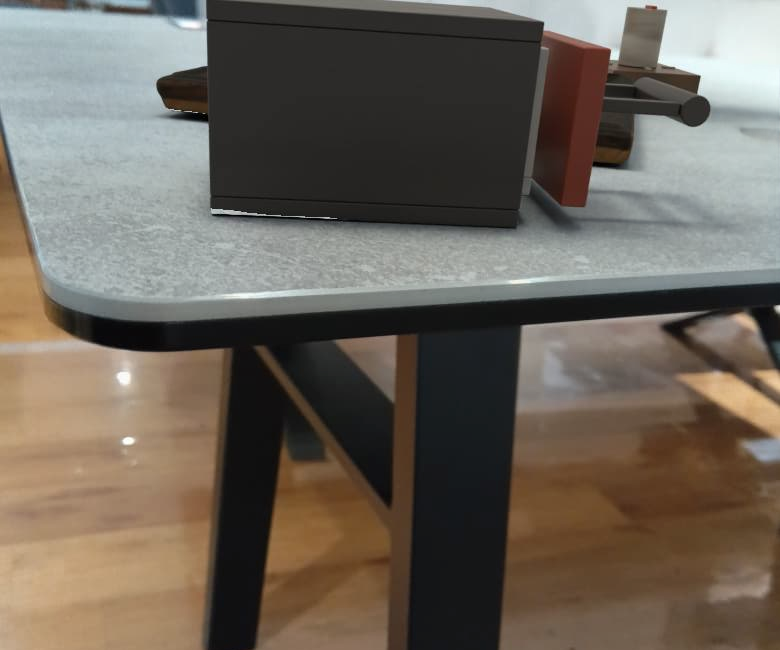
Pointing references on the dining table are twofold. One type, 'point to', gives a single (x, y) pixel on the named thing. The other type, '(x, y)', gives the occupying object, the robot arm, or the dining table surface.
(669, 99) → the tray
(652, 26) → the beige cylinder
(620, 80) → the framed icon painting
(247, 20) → the dark grey lidded box
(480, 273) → the dining table surface
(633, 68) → the panel
